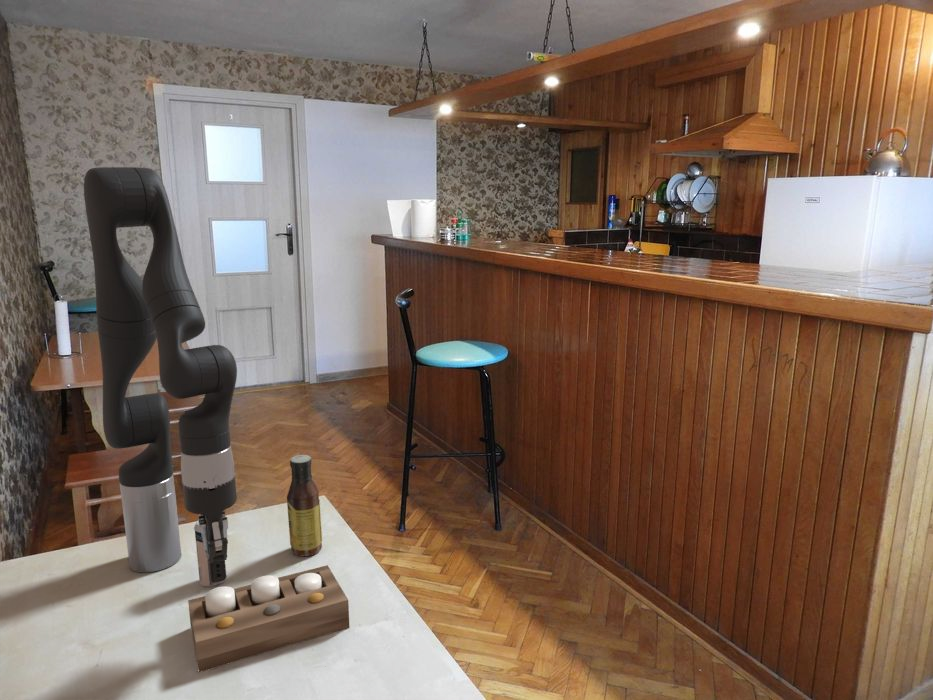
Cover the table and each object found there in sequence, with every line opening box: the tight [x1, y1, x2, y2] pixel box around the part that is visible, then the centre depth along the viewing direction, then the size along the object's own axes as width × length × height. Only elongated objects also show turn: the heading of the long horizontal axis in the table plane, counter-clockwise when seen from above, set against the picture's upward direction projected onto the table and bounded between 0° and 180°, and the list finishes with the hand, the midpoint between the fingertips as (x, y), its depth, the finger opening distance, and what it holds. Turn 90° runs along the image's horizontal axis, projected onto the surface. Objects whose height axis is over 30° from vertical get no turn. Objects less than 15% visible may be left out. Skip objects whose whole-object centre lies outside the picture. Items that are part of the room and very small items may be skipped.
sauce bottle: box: [286, 454, 323, 557], centre depth 129 cm, size 6×6×20 cm
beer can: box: [193, 520, 228, 588], centre depth 119 cm, size 5×5×12 cm
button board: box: [187, 564, 350, 673], centre depth 106 cm, size 12×23×5 cm, turn 118°
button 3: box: [295, 573, 322, 595], centre depth 111 cm, size 4×4×3 cm
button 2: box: [250, 575, 280, 605], centre depth 108 cm, size 4×4×3 cm
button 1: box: [204, 586, 236, 618], centre depth 104 cm, size 4×4×3 cm
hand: (218, 579), depth 103 cm, fingers closed
